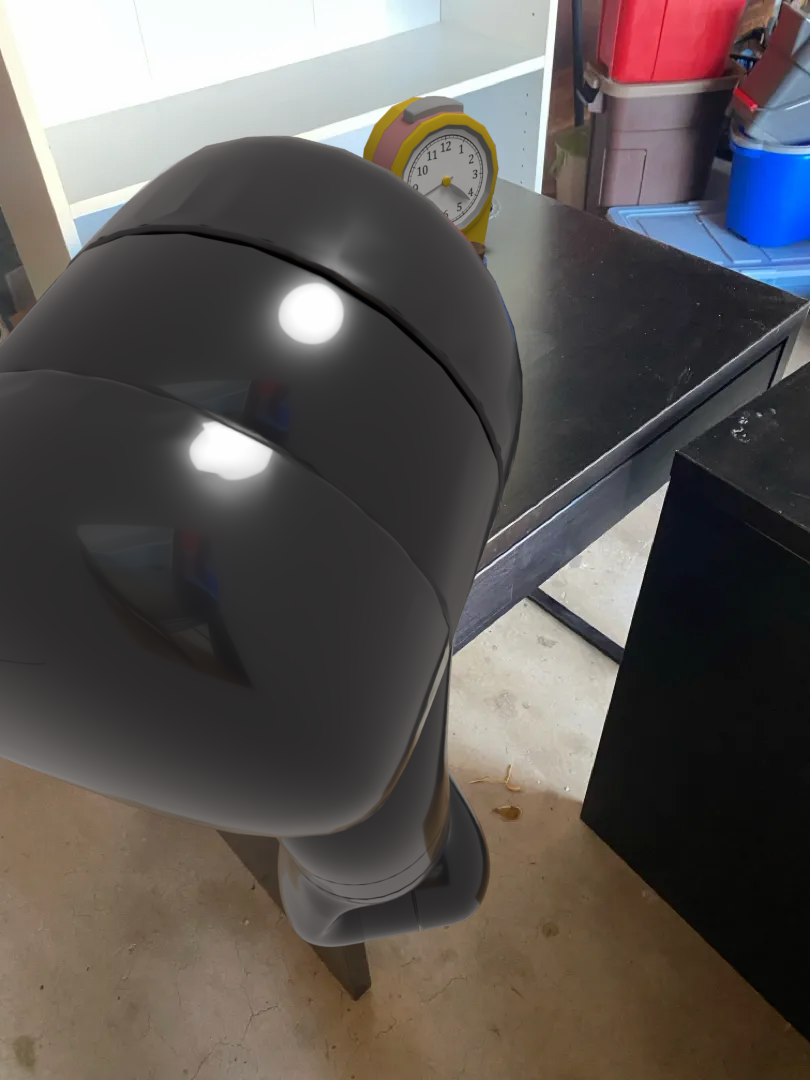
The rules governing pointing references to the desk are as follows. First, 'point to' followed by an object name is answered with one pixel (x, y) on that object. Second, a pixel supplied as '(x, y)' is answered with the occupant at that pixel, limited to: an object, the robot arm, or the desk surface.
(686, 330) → the desk surface
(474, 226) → the alarm clock
